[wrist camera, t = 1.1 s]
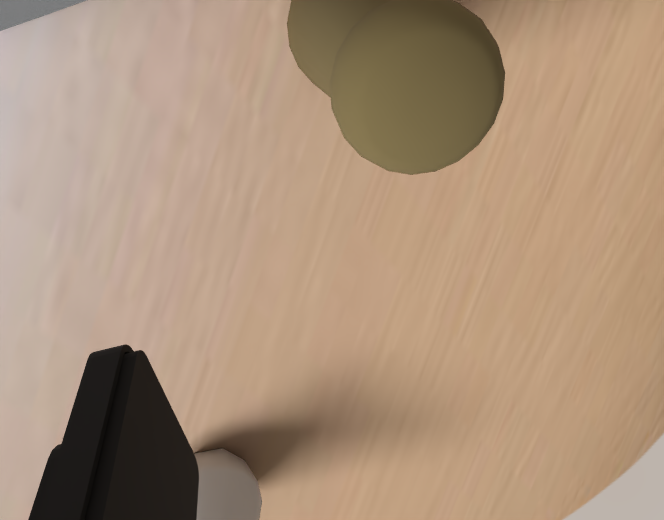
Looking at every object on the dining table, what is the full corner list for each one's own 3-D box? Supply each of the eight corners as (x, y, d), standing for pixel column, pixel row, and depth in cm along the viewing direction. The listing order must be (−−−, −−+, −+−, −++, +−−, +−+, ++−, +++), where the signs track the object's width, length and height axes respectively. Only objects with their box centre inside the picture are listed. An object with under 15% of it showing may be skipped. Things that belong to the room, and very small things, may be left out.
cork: (258, 4, 25) (282, 75, 16) (384, -84, 24) (487, -64, 15) (334, 122, 28) (390, 238, 19) (448, 47, 27) (565, 132, 18)
